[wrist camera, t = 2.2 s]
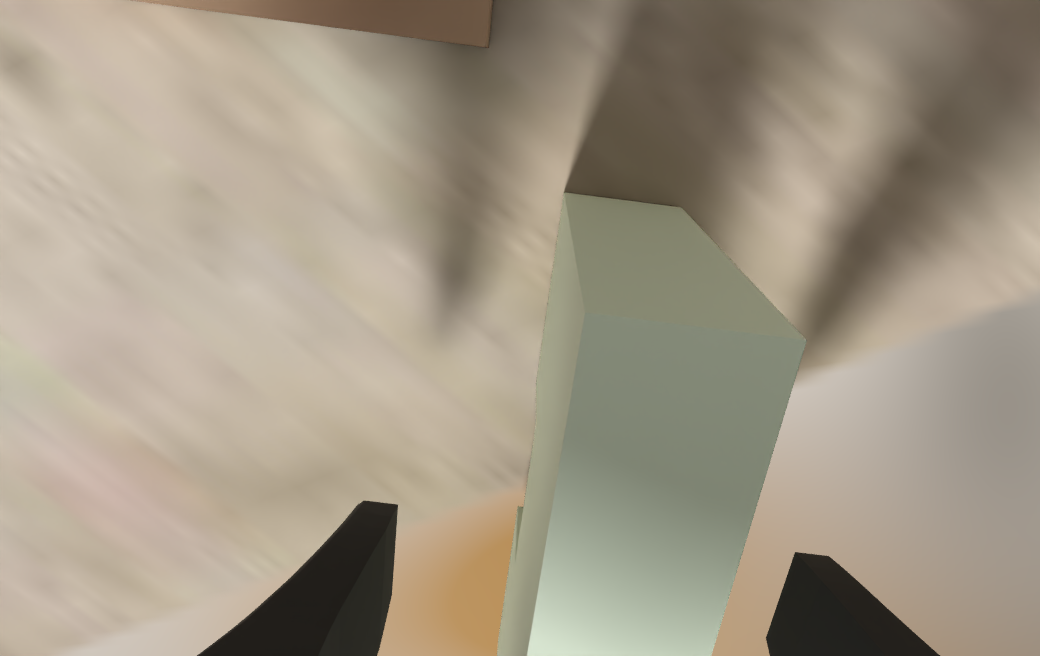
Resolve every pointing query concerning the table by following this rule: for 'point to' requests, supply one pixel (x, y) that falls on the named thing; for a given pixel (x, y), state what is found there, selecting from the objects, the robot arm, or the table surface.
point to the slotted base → (369, 15)
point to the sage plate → (643, 437)
